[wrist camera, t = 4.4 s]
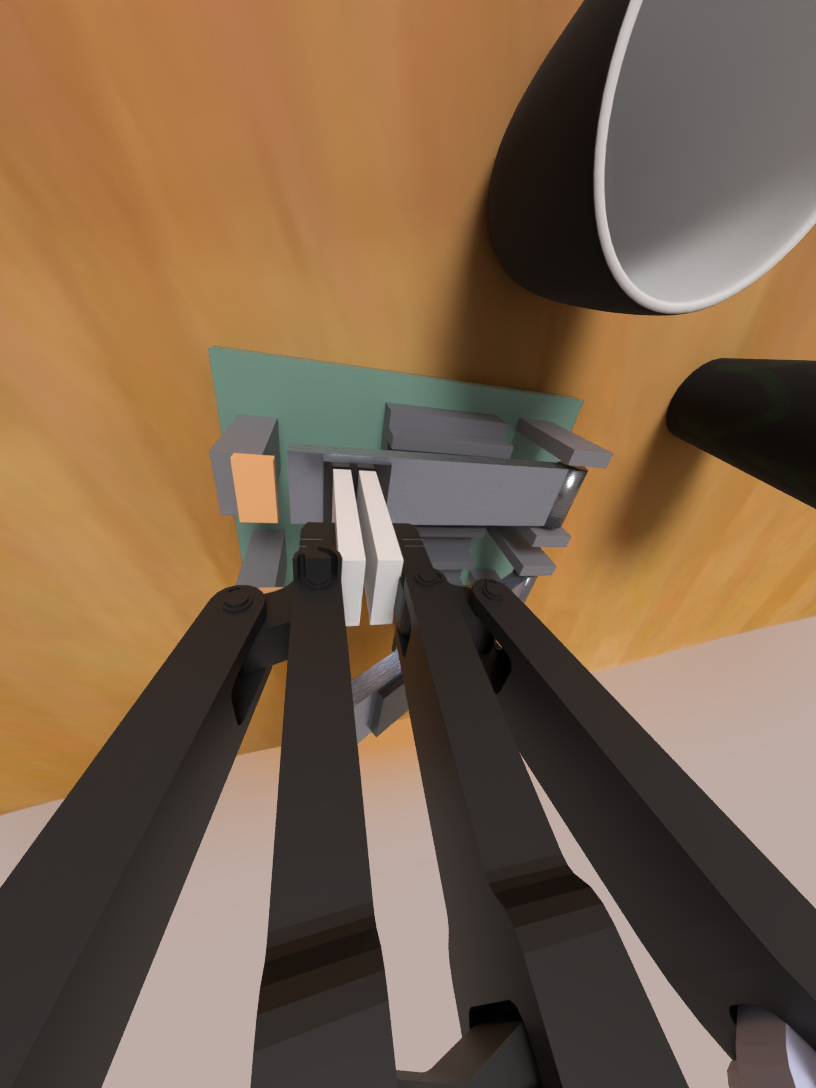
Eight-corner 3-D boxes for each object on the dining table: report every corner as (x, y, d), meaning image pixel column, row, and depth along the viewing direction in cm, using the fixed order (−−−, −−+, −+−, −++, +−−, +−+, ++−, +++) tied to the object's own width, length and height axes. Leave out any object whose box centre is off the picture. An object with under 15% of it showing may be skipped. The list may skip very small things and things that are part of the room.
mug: (599, 309, 20) (786, 312, 12) (456, 313, 19) (557, 320, 11) (698, -71, 13) (1327, -701, 5) (479, -109, 11) (840, -1075, 3)
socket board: (249, 580, 26) (226, 663, 20) (214, 345, 17) (155, 368, 11) (501, 575, 32) (543, 640, 26) (572, 396, 23) (662, 430, 17)
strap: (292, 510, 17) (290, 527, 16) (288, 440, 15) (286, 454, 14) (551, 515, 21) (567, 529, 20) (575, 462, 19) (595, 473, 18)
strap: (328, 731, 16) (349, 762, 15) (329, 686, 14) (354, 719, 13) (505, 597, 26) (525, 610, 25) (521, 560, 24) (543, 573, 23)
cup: (633, 437, 26) (816, 516, 16) (708, 323, 22) (1009, 338, 12) (697, 459, 28) (888, 538, 19) (774, 361, 24) (1066, 398, 15)
